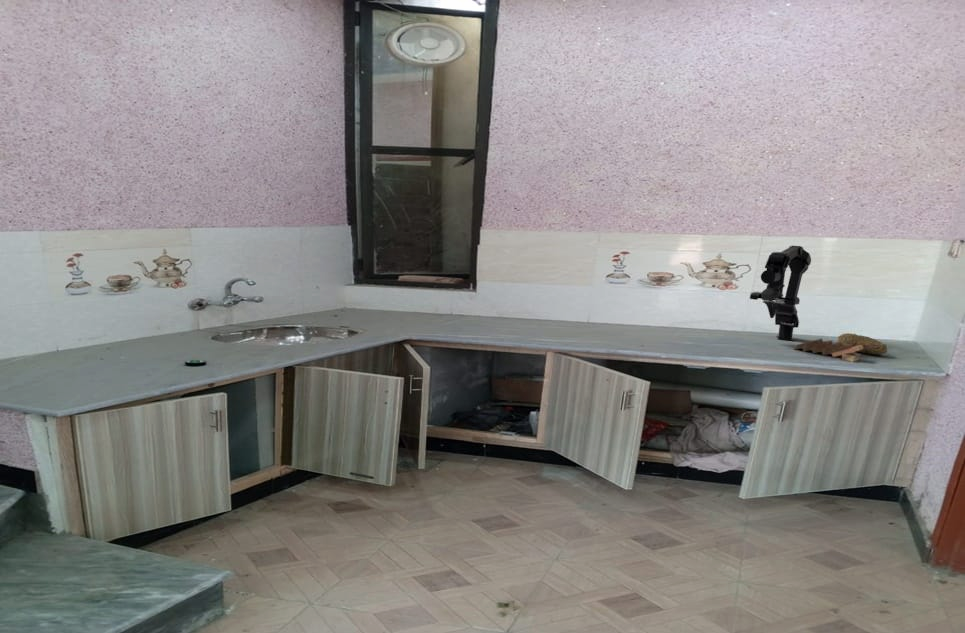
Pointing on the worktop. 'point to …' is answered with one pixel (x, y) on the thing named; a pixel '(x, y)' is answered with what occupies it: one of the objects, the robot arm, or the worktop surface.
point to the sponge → (863, 343)
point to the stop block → (851, 357)
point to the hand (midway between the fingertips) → (771, 317)
